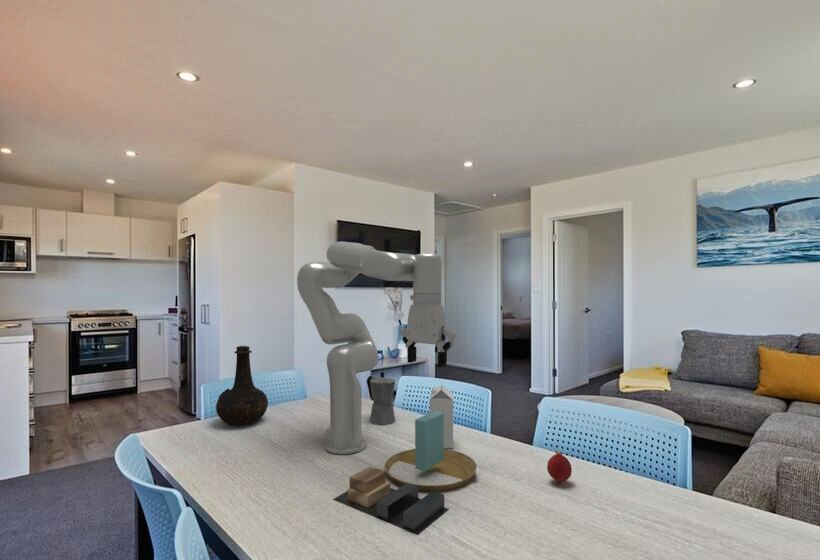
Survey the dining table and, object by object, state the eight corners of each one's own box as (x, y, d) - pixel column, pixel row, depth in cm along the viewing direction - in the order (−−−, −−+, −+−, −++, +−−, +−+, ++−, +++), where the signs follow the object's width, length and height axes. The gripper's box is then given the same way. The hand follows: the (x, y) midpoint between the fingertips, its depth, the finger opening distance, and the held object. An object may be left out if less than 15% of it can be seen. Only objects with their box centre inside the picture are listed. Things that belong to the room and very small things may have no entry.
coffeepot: (404, 422, 156) (403, 372, 157) (384, 428, 150) (384, 376, 150) (377, 413, 167) (376, 367, 168) (357, 418, 161) (357, 370, 161)
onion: (571, 479, 110) (571, 448, 110) (572, 490, 104) (571, 457, 104) (547, 476, 112) (547, 445, 112) (546, 486, 106) (546, 454, 106)
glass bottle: (233, 414, 167) (232, 342, 168) (276, 416, 165) (276, 343, 165) (205, 429, 150) (205, 349, 150) (253, 431, 147) (253, 350, 148)
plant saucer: (373, 465, 120) (373, 453, 120) (451, 453, 129) (451, 442, 129) (402, 507, 98) (402, 492, 98) (494, 489, 106) (494, 475, 106)
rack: (332, 503, 99) (332, 486, 99) (367, 483, 108) (367, 467, 108) (417, 540, 84) (417, 519, 84) (449, 513, 94) (449, 495, 94)
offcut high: (349, 487, 99) (349, 476, 99) (369, 476, 104) (369, 466, 104) (365, 493, 96) (365, 482, 96) (385, 482, 101) (385, 471, 101)
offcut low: (348, 499, 98) (348, 488, 98) (371, 486, 105) (371, 475, 105) (367, 507, 95) (367, 496, 95) (390, 493, 101) (390, 482, 101)
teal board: (415, 468, 111) (415, 419, 111) (434, 456, 118) (434, 411, 118) (425, 471, 109) (424, 421, 109) (443, 459, 116) (443, 413, 116)
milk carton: (453, 440, 138) (452, 381, 138) (453, 449, 131) (452, 386, 131) (431, 440, 138) (430, 381, 139) (429, 448, 131) (429, 386, 132)
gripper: (393, 299, 117) (392, 362, 117) (447, 301, 106) (446, 370, 106) (409, 298, 123) (409, 358, 123) (462, 300, 112) (461, 366, 112)
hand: (426, 364), depth 115 cm, fingers open, 9 cm apart
